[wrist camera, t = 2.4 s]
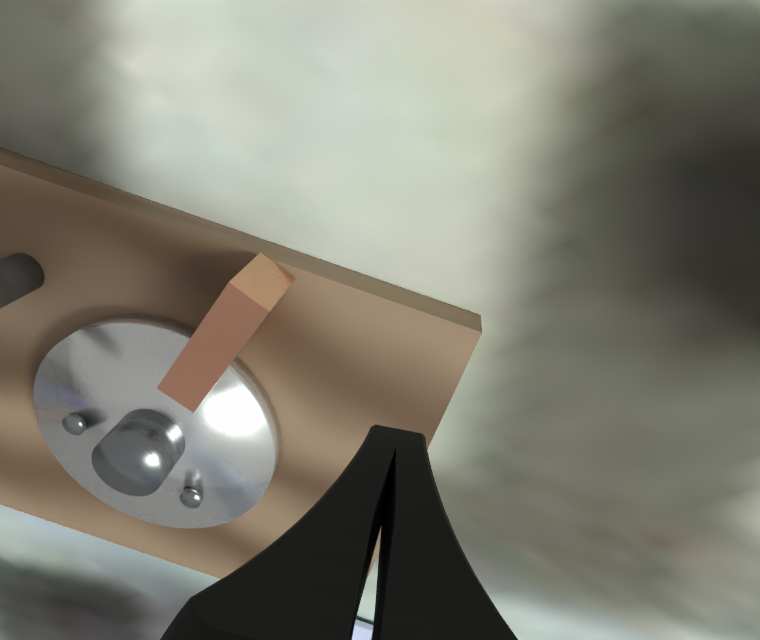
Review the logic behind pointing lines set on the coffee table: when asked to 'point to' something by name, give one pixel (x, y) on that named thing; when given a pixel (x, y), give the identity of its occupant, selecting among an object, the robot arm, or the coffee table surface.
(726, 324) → the coffee table surface
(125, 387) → the flange plate
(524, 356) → the coffee table surface
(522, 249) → the coffee table surface
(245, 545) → the base board
